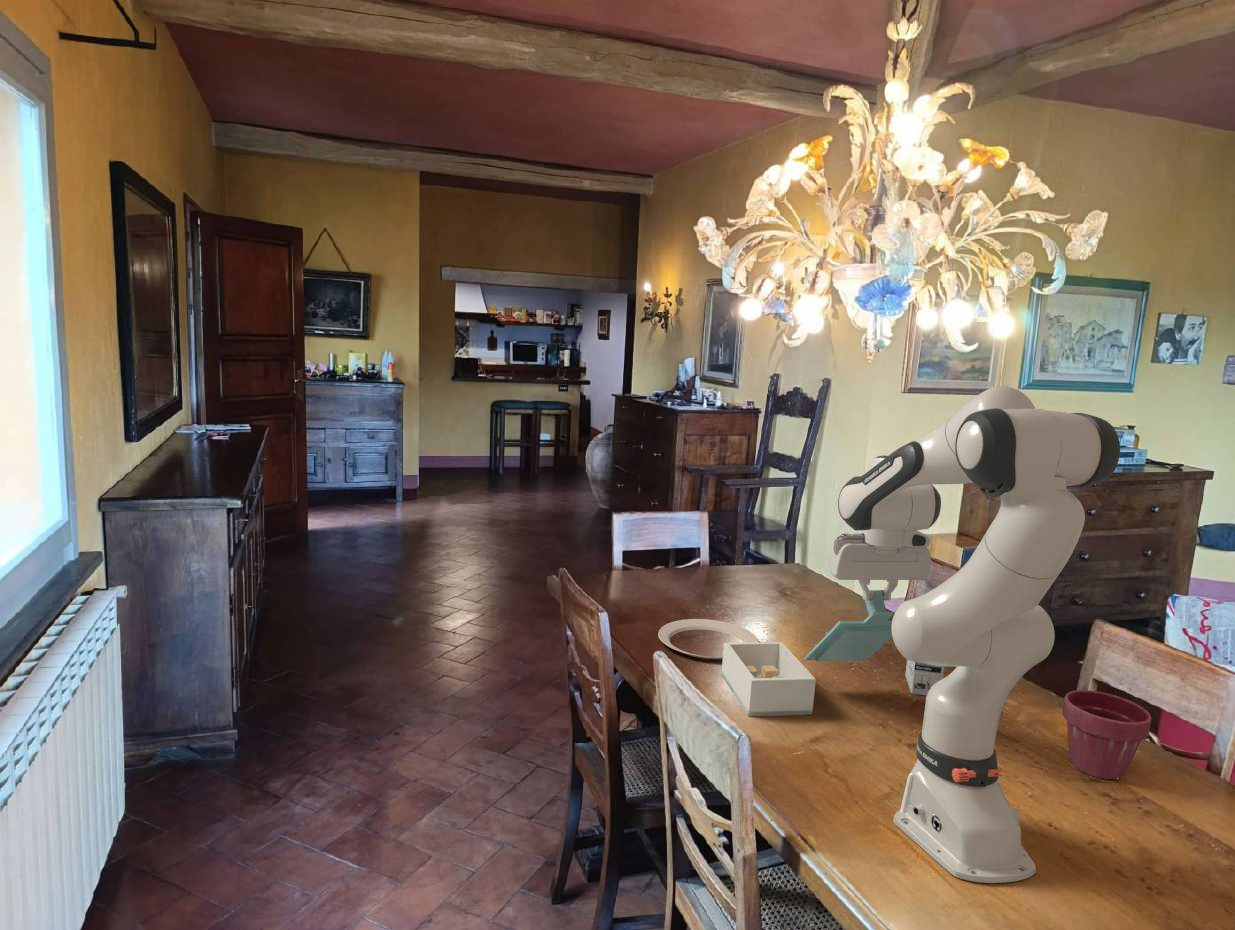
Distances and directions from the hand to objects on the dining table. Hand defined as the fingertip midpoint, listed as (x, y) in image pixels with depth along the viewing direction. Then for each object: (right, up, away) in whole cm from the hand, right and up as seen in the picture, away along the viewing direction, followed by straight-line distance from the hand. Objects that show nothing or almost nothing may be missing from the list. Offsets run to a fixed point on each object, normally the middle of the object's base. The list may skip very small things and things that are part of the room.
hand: (876, 599), depth 166 cm
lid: (-1, -10, +7) cm, 12 cm away
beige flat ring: (-30, -19, +42) cm, 55 cm away
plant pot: (+39, -31, -9) cm, 51 cm away
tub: (-20, -23, +14) cm, 34 cm away
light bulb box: (+18, -24, +23) cm, 38 cm away
